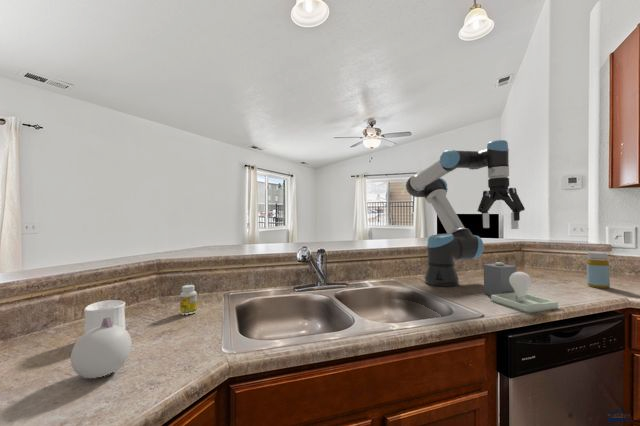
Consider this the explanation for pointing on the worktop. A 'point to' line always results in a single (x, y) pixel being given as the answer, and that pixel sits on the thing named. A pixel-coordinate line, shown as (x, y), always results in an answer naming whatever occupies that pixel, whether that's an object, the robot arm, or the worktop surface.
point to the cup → (104, 314)
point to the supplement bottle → (188, 299)
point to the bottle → (598, 270)
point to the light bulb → (520, 285)
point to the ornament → (101, 350)
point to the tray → (525, 302)
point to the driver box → (498, 278)
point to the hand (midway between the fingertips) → (499, 228)
